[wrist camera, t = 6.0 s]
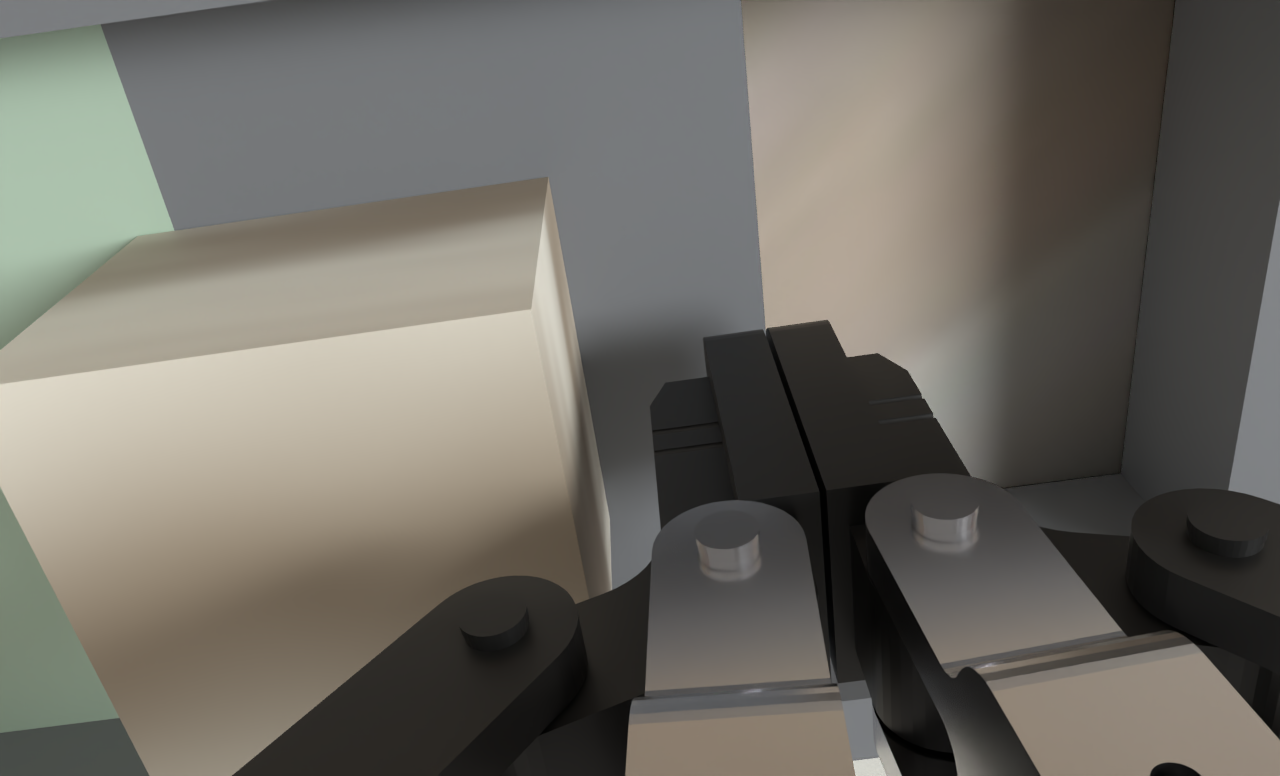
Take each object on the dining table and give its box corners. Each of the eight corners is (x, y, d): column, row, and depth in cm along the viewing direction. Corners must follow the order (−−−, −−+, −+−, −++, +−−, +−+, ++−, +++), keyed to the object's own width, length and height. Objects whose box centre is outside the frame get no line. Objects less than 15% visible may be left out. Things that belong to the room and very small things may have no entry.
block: (138, 236, 12) (-49, 391, 9) (548, 177, 12) (531, 310, 8) (264, 565, 14) (159, 794, 11) (609, 518, 14) (615, 735, 11)
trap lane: (-982, 50, 13) (-1650, 129, 9) (1285, -277, 13) (1601, -340, 9) (-411, 723, 19) (-675, 949, 15) (1168, 521, 18) (1327, 702, 15)
